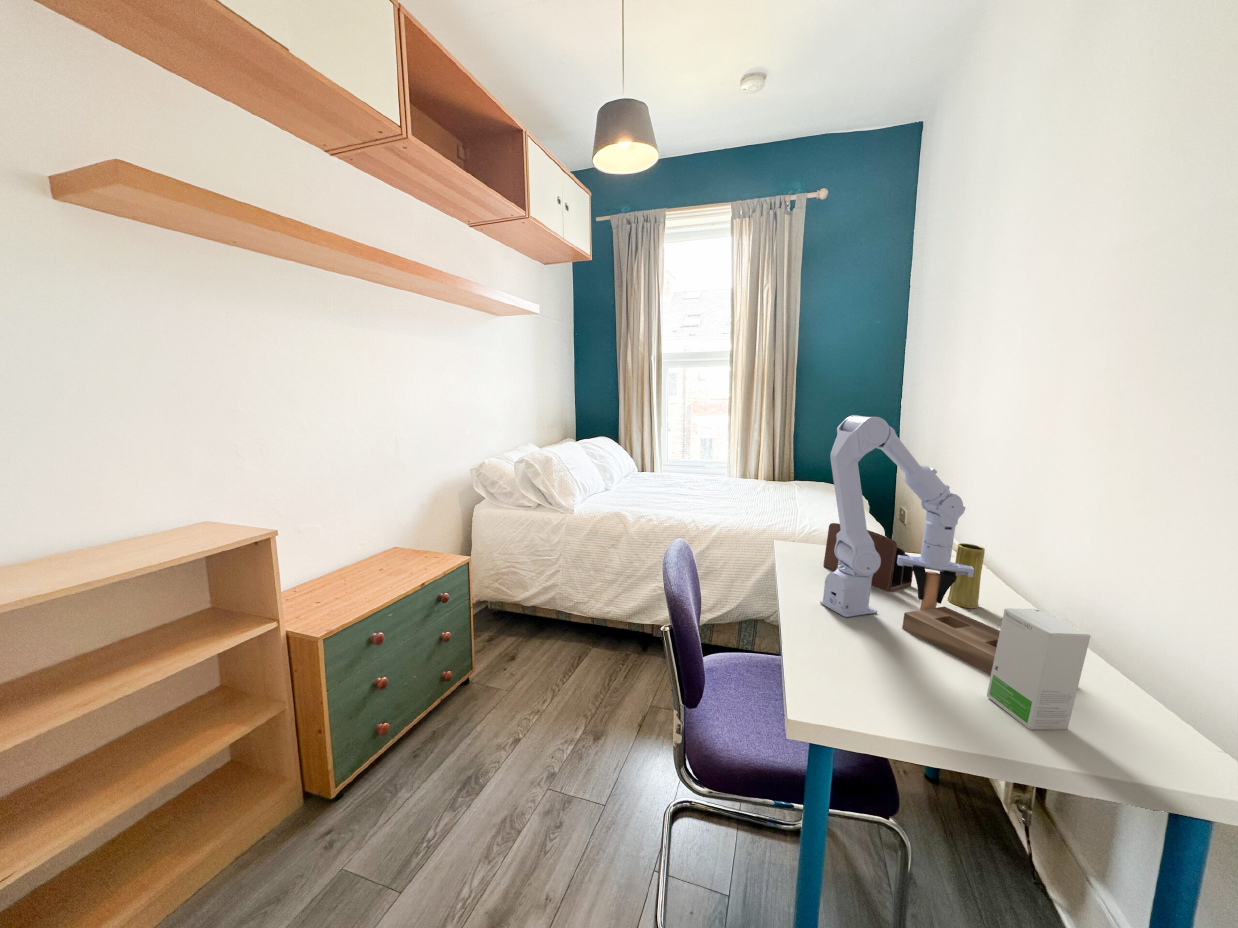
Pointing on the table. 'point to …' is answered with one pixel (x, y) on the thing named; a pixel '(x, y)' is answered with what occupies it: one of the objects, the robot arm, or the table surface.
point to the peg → (930, 590)
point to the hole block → (955, 635)
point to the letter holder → (889, 571)
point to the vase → (967, 587)
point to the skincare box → (1037, 668)
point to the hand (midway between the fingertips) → (929, 600)
